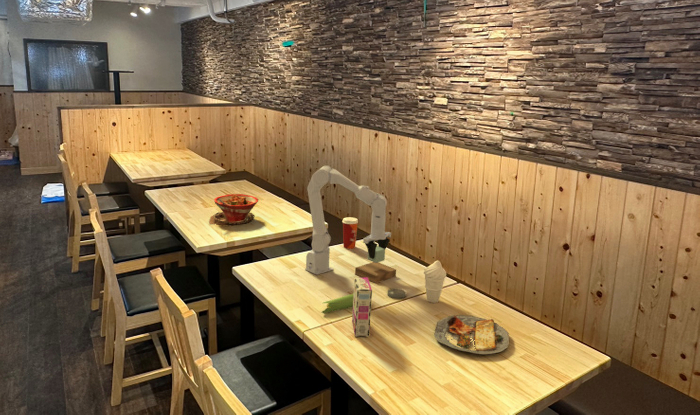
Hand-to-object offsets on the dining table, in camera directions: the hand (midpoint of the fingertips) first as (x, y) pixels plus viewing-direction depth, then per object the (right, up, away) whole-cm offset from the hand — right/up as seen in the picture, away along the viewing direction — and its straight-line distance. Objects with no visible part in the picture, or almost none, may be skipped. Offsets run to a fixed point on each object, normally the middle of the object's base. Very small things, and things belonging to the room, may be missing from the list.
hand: (376, 256), depth 221 cm
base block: (0, -8, +2) cm, 8 cm away
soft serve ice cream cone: (+20, -15, -20) cm, 32 cm away
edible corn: (-13, -16, -29) cm, 36 cm away
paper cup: (-11, +1, +36) cm, 38 cm away
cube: (0, -1, 0) cm, 2 cm away
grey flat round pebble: (+7, -14, -16) cm, 22 cm away
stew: (-74, +13, +71) cm, 104 cm away
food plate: (+29, -23, -47) cm, 59 cm away
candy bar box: (-7, -20, -44) cm, 49 cm away
